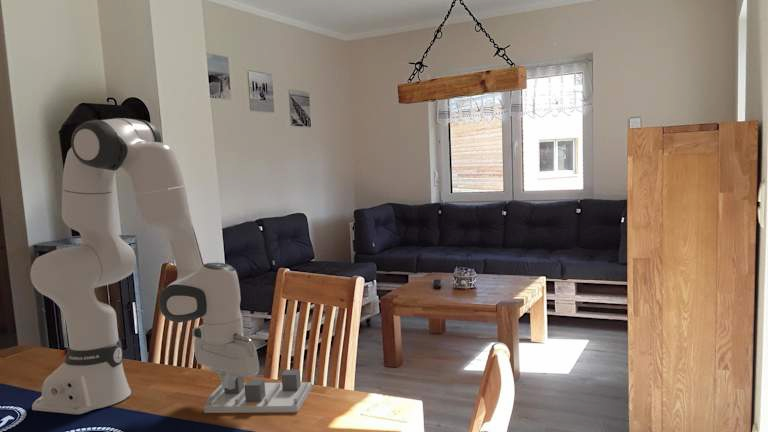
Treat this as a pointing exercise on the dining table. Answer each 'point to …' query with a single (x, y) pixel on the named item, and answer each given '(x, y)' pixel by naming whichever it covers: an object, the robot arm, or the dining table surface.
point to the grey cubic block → (255, 390)
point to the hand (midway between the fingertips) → (228, 387)
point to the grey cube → (291, 380)
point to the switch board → (271, 402)
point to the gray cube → (236, 386)
